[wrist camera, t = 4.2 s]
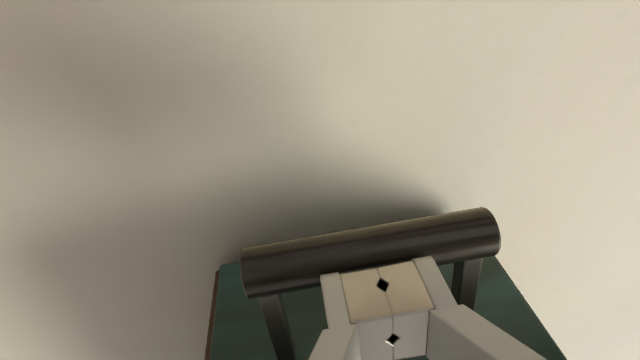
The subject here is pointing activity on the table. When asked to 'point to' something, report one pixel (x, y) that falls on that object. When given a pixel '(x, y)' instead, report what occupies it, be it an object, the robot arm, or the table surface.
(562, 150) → the table surface
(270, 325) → the drawer
